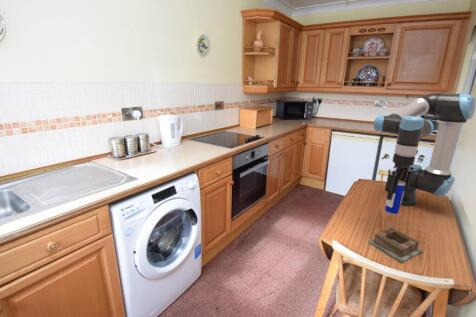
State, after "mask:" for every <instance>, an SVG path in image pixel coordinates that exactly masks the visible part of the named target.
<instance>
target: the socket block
mask: <svg viewBox="0 0 476 317" xmlns="http://www.w3.org/2000/svg"><path fill="white" fill-rule="evenodd" d="M368 244H370V245H371V246H372V247H374V248H375V249H378V250H379V251H381V252H382V253H384V254H386V255H387V256H389V257H390V258H392V259H394V260H395V261H397V262H398V263H400V264H404V263H405V262H407V261H409V260H411V259H413V258H415V257H417V256H419V255H420V254H422V253H423V252H424V251H423V250H422V249H421V248H419V244H420V241H419V240H418V239H415V238H413V237H411V236H409V235H407V234H406V233H403V232H402V231H399V230H398V229H396V228H394V227H390V228H387V229H385V230H382V231H379V232H378V233H375V235H374V238H372V239H370V240H368Z"/></svg>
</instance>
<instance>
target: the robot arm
mask: <svg viewBox="0 0 476 317" xmlns="http://www.w3.org/2000/svg"><path fill="white" fill-rule="evenodd" d="M475 109H476V100H475V96H474V95H472V94H466V93H446V92H445V93H443V92H434V93H433V92H432V93H428V94H424V95H420V96H418V97H416V98H414V99H412V100H410V102H409V103H408V104H407V105H404V106H403V107H401V108H399V109H397V110H396V111H394V112H392V113H390V114H388V115H377V116H376V117H375V118H374V122H373V129H374V130H375V131H377V132H380V133H385V134H386V133H387V134H394V135H397V138H396V144H395V147H394V148H395V149H394V153H393V157H392V163H394V166H393V168H392V169H388V171H387V172H388V175H387V179H386V184H385V188H384V191H385V192H387V196H386V199H385V200H386V201H385V206H386V205H387V206H389V207H392V206H393V202H394V198H395V193H394V192H395V190H396V187H397V185H398V182H399V180H401V181H404V182H405V187H404V191H403V195H402V199H401V203H400V206H405V207H407V206H408V207H414V206H416V205H417V202H418V198H417V190H418V191H423V192H426V193H430V194H432V195H437V196H441V197H443V196H446V195H447V194H448V193H449V191H450V190H451V188H452V186H453V185H454V182H455V177H454V176H452V174H453V173H452V171H451V170H450V168H451V164H452V160H453V155H454V152H455V149H456V146H457V143H458V139H459V136H460V132H461V128H462V125H464V124H466V123H467V121H468V120H471V119H472V118H473V117H474V113H475ZM421 116H433V117H437V119H436V121H437V122H438V123H439V126H438V129H437V133H436V138H435V141H434V145H433V149H432V153H431V154H432V155H431V157H430V161H429V165H428V166H426V167H425V168H424V169H423V167H422V166H421V165H420V164H415V160H416V155H417V153H418V152H417V151H418V147H419V143H420V139H422V138H426V137H428V136H430V135H431V134H432V133H433V131H434V129H435V128H434V127H435V126H434V123H433V121H431V120H428V119H424V118H423V117H421Z"/></svg>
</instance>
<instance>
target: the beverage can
mask: <svg viewBox="0 0 476 317" xmlns="http://www.w3.org/2000/svg"><path fill="white" fill-rule="evenodd" d="M404 187H405V182H404V181H401V180H399V182H398V185H397V187H396V190H395V192H394V193H395V198H394V202H393V206H392V207H389V206H387V205H385V207H384V211H385V212H386V213H387V214H389V215H394V216H395V215H397V214H399V210H400V208H401V207H400V206H401V205H400V203H401V199H402V195H403V191H404Z"/></svg>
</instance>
